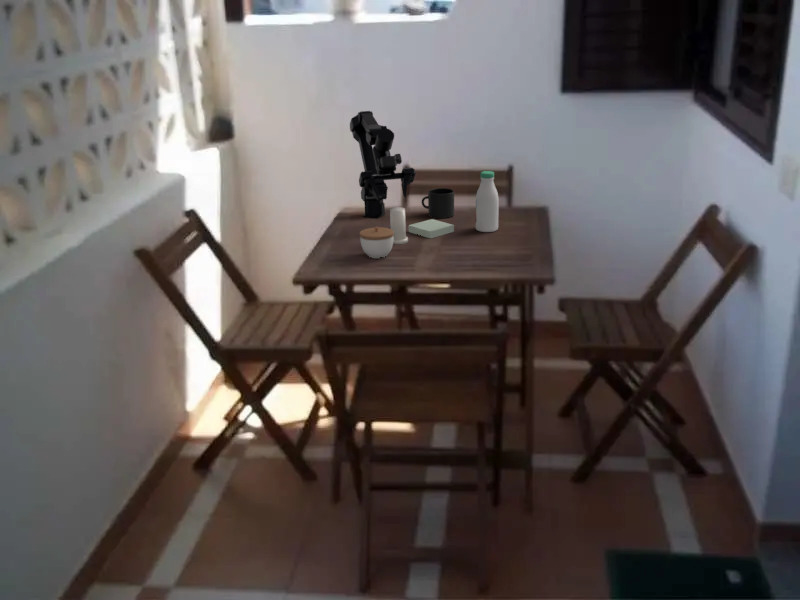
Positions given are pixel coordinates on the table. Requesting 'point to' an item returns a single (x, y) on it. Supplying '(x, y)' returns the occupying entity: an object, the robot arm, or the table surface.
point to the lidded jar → (377, 241)
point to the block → (431, 228)
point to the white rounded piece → (398, 225)
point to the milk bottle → (487, 204)
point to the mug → (440, 202)
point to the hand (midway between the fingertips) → (392, 198)
